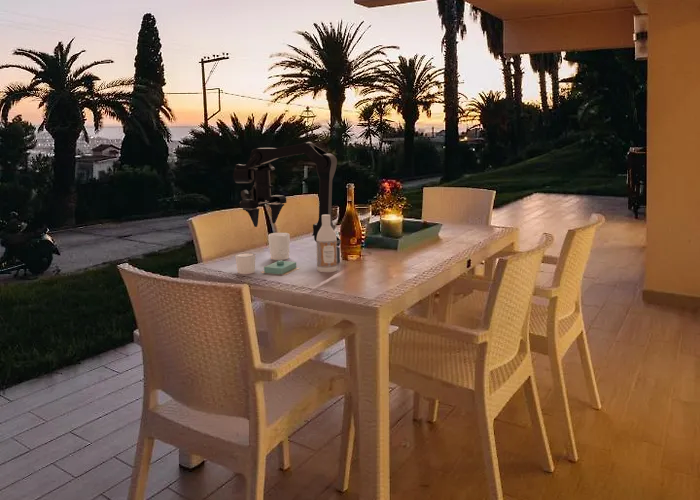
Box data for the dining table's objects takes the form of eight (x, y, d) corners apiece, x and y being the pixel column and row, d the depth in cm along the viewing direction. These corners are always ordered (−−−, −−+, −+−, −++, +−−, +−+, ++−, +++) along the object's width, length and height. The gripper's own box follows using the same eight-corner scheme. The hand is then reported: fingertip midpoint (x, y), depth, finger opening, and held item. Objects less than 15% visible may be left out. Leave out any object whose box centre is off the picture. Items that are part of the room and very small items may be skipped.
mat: (300, 270, 210) (300, 268, 210) (286, 277, 201) (286, 274, 201) (275, 268, 214) (275, 265, 214) (260, 275, 205) (260, 272, 205)
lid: (296, 267, 210) (296, 258, 210) (282, 274, 202) (281, 265, 201) (279, 266, 213) (278, 257, 213) (264, 272, 204) (263, 263, 204)
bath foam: (319, 275, 203) (317, 217, 199) (315, 270, 210) (314, 214, 205) (339, 274, 205) (338, 215, 200) (335, 269, 211) (333, 213, 207)
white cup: (286, 263, 222) (285, 236, 220) (266, 262, 224) (265, 236, 222) (293, 258, 230) (292, 232, 228) (273, 257, 231) (272, 232, 229)
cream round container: (260, 273, 208) (259, 253, 206) (249, 278, 202) (248, 257, 200) (243, 271, 211) (242, 252, 209) (232, 276, 204) (231, 256, 203)
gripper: (265, 179, 232) (268, 219, 235) (228, 184, 217) (231, 227, 221) (286, 180, 225) (288, 221, 228) (249, 185, 211) (252, 229, 214)
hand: (265, 225), depth 223 cm, fingers open, 9 cm apart
